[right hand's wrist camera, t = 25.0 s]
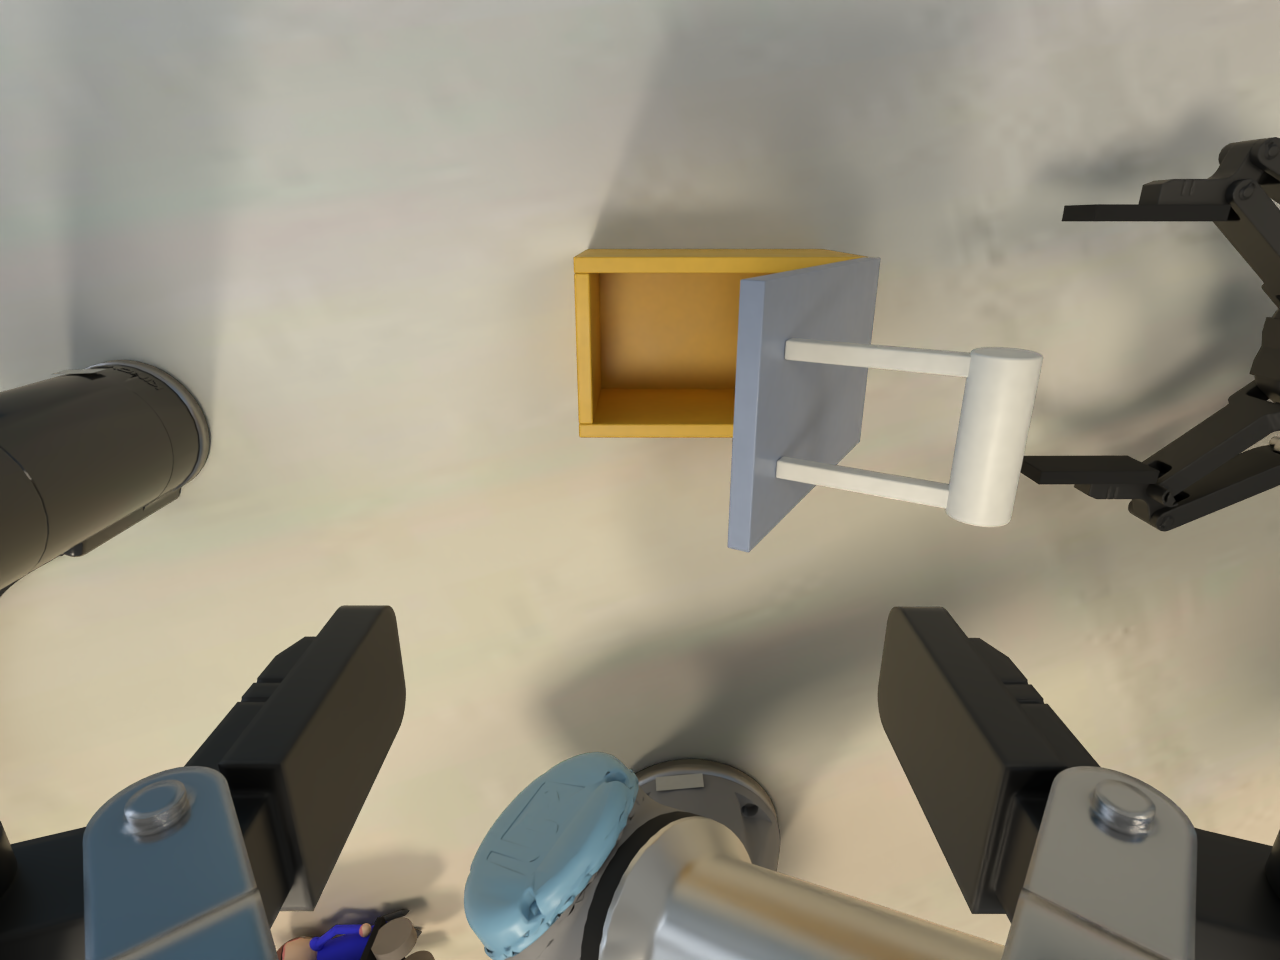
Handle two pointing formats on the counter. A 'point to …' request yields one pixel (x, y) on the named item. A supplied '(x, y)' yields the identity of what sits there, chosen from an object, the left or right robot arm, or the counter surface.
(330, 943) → the figurine character
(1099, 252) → the counter surface
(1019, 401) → the lid
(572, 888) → the left robot arm
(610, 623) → the counter surface
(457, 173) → the counter surface
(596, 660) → the counter surface
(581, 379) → the chest
